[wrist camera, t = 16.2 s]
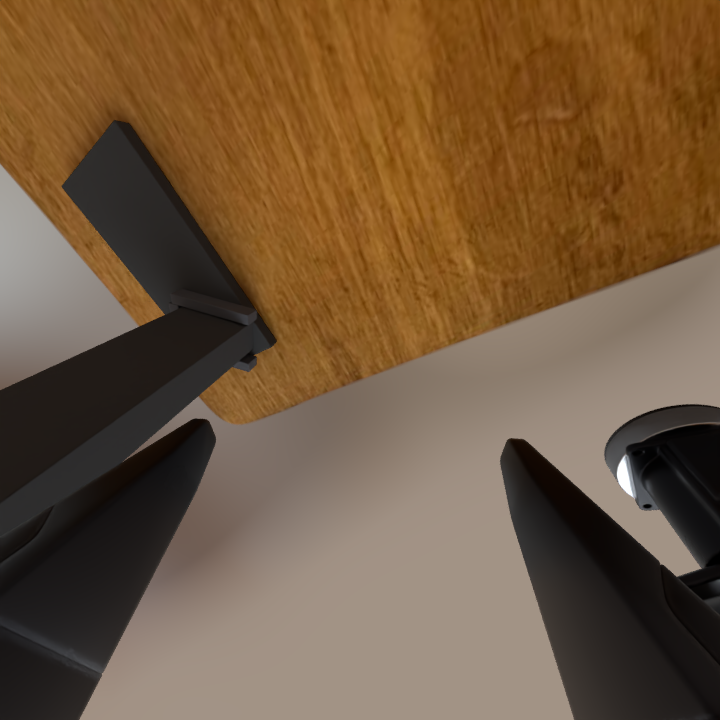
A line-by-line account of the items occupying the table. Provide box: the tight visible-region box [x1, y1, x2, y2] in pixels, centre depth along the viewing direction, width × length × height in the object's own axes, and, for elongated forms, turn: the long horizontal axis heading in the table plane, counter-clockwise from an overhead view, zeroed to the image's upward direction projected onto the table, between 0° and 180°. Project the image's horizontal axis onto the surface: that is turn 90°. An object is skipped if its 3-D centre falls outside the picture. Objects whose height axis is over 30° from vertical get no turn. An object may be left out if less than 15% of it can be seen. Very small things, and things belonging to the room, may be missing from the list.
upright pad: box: [0, 307, 253, 536], centre depth 15 cm, size 5×2×18 cm, turn 77°
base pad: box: [62, 120, 277, 372], centre depth 21 cm, size 17×8×2 cm, turn 28°
